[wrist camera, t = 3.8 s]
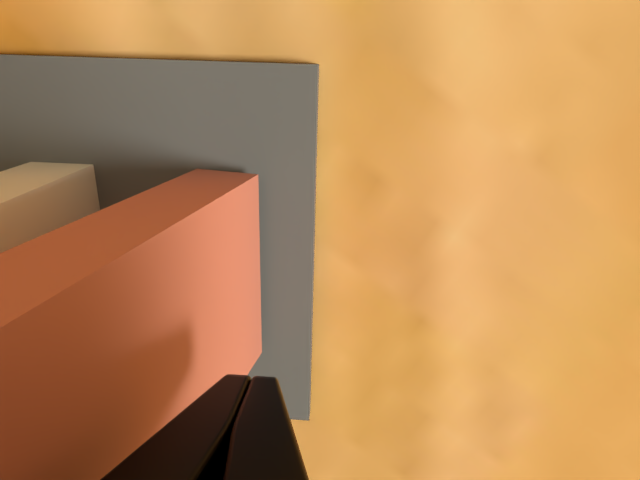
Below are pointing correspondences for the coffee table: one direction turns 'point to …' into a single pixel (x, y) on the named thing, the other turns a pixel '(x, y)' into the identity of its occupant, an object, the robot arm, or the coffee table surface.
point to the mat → (189, 159)
